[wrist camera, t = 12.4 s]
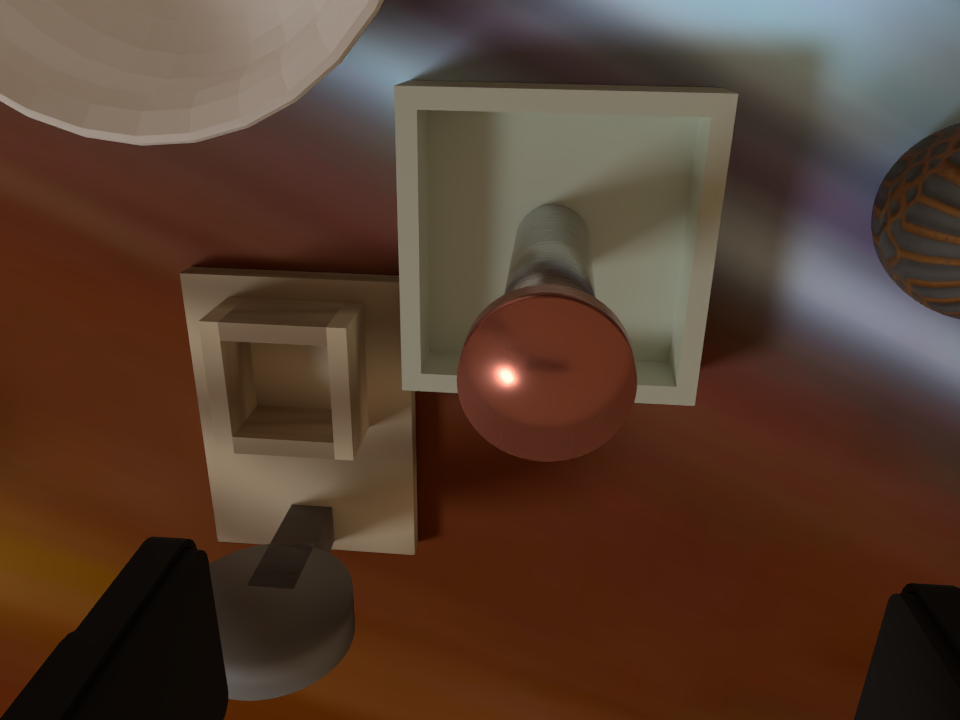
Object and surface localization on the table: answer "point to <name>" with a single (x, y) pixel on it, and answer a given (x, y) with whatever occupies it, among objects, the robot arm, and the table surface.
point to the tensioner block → (298, 458)
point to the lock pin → (548, 350)
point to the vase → (923, 222)
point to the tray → (569, 182)
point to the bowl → (169, 62)
